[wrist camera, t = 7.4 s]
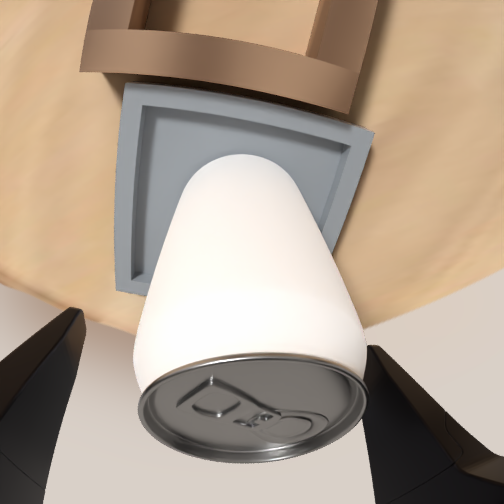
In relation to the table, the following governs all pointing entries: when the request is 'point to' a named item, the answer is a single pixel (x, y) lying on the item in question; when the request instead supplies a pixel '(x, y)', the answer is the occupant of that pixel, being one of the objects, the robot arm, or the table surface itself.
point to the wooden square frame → (236, 52)
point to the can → (248, 324)
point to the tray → (211, 148)
